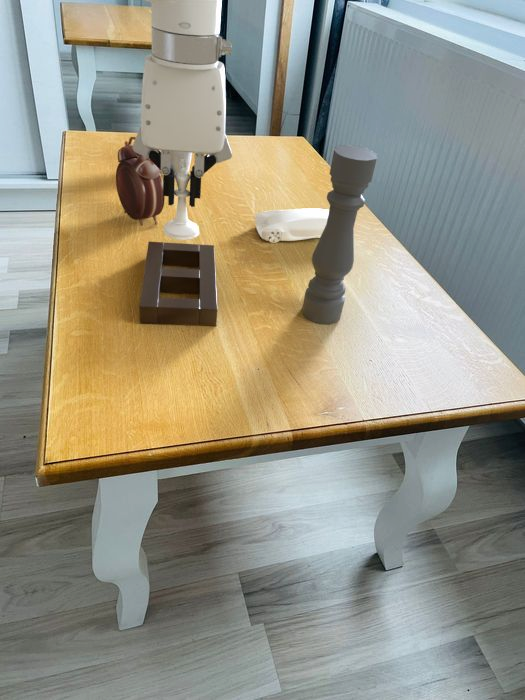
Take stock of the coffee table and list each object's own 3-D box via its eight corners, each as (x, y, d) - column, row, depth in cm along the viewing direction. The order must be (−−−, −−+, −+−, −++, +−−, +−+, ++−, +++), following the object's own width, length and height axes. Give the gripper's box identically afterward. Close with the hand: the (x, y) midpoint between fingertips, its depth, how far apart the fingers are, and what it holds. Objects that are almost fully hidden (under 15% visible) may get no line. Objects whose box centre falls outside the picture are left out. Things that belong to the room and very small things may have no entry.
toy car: (261, 243, 102) (263, 220, 100) (252, 224, 108) (255, 202, 106) (351, 243, 107) (356, 222, 104) (339, 225, 113) (343, 204, 110)
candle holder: (301, 299, 89) (330, 141, 73) (339, 304, 89) (376, 147, 74) (302, 321, 84) (333, 157, 69) (342, 326, 84) (382, 163, 69)
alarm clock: (166, 228, 103) (167, 147, 94) (143, 233, 100) (141, 150, 91) (136, 206, 109) (134, 127, 100) (114, 210, 106) (110, 130, 97)
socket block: (139, 323, 79) (139, 306, 77) (148, 257, 94) (148, 241, 92) (216, 326, 80) (217, 309, 79) (213, 260, 95) (214, 245, 94)
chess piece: (165, 240, 74) (166, 167, 68) (161, 224, 78) (160, 153, 72) (202, 239, 75) (205, 167, 69) (195, 223, 79) (198, 153, 73)
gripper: (252, 49, 67) (239, 194, 78) (116, 34, 64) (123, 186, 76) (258, 62, 61) (242, 218, 72) (108, 46, 58) (117, 209, 70)
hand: (181, 200), depth 74 cm, fingers closed on chess piece
